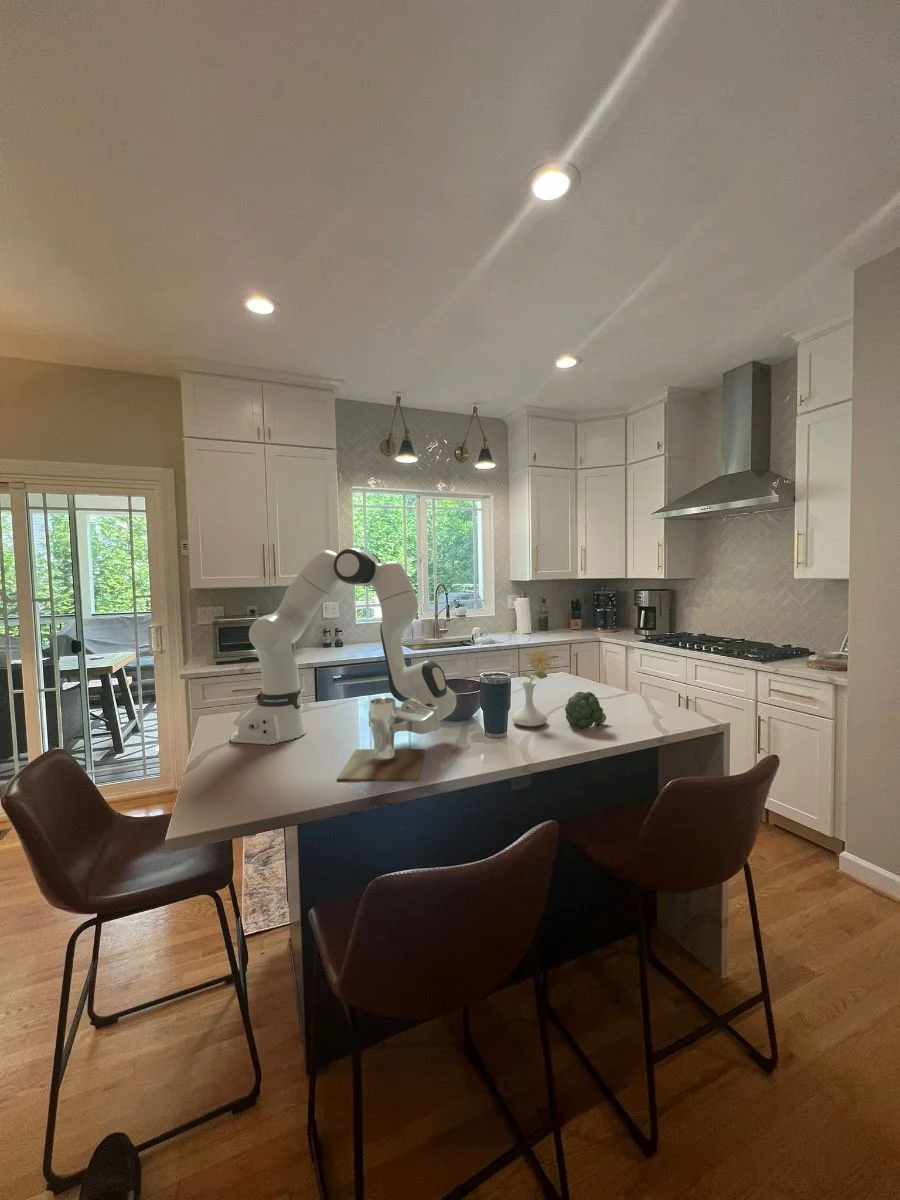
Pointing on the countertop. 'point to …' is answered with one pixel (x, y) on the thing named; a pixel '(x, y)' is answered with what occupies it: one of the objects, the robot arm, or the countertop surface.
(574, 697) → the vegetable
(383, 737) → the beer glass
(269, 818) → the countertop surface
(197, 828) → the countertop surface
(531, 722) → the flower in vase
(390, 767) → the tan wooden board
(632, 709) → the countertop surface
